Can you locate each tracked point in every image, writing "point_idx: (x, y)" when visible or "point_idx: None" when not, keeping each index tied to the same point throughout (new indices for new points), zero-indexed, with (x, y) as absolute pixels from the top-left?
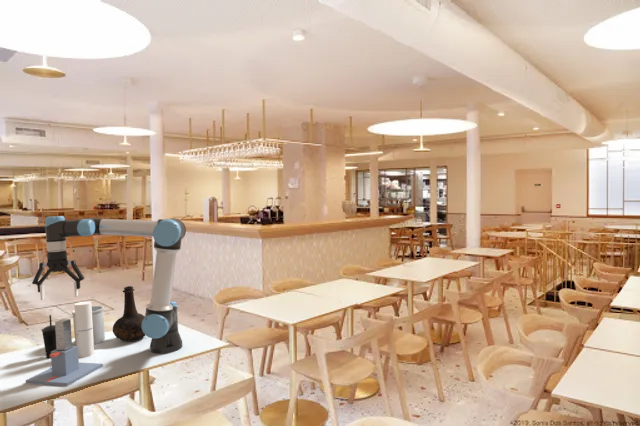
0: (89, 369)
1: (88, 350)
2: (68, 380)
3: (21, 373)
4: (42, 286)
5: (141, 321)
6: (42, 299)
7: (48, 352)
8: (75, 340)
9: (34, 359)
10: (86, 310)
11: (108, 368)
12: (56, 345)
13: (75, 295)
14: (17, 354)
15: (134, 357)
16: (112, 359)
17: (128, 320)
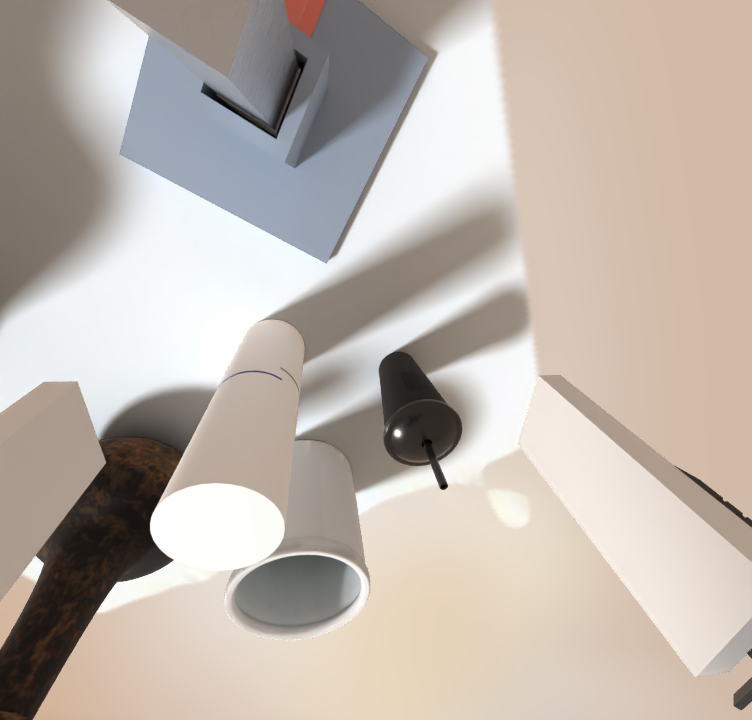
0: (155, 83)
1: (249, 333)
2: None
3: (465, 213)
4: (708, 575)
5: None
6: (543, 377)
7: (409, 361)
8: (348, 469)
9: (451, 357)
10: (189, 456)
11: (77, 106)
12: (293, 49)
13: (46, 397)
14: (511, 421)
15: (7, 231)
16: (120, 244)
17: (85, 509)
